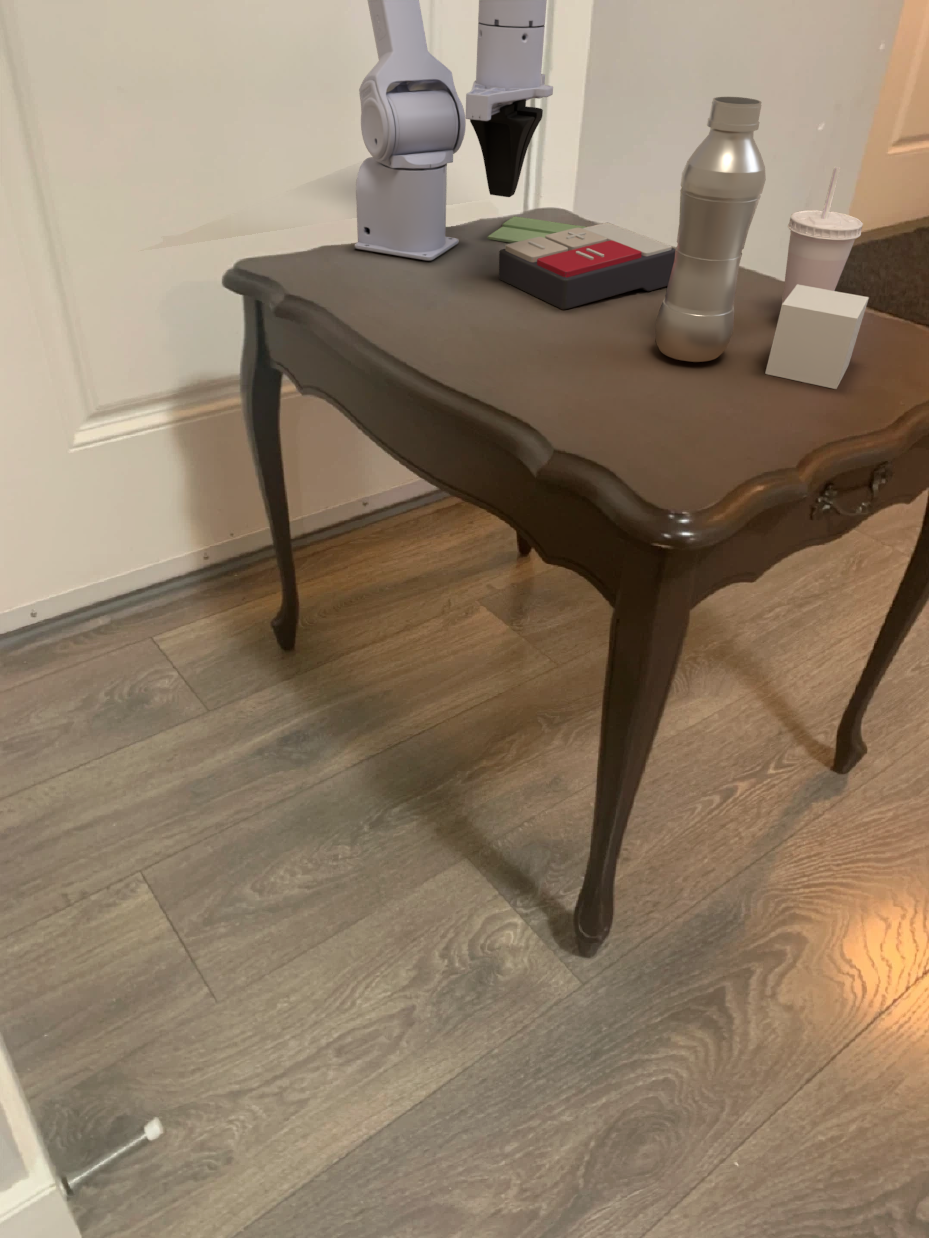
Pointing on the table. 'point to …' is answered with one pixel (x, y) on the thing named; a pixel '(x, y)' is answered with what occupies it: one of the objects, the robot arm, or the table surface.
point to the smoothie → (819, 245)
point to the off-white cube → (816, 335)
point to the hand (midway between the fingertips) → (502, 194)
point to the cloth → (527, 229)
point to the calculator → (586, 264)
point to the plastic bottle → (712, 233)
